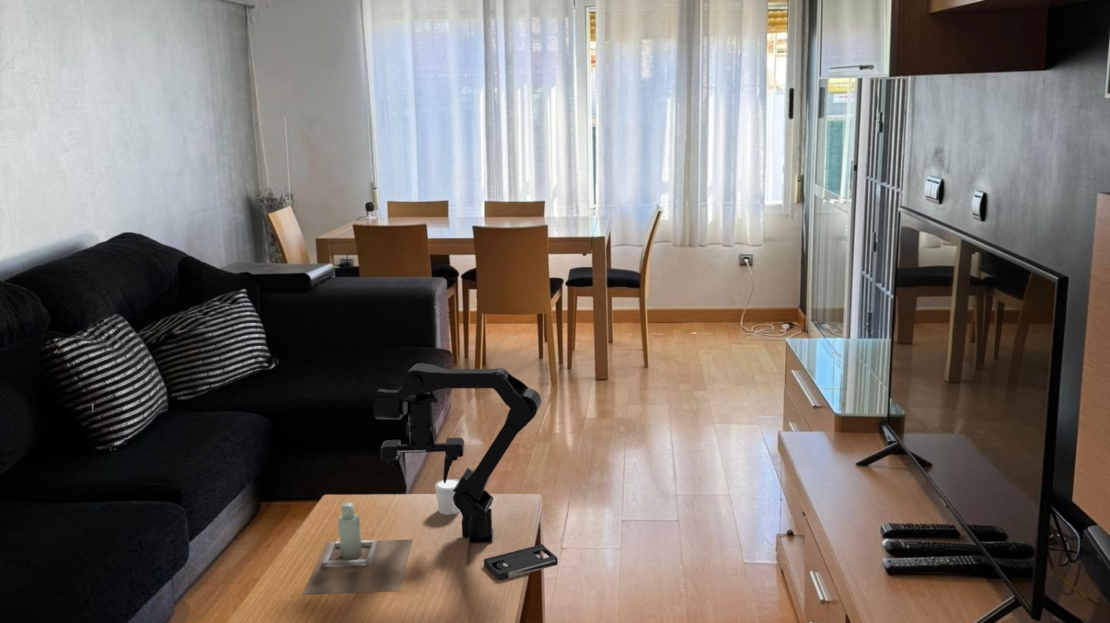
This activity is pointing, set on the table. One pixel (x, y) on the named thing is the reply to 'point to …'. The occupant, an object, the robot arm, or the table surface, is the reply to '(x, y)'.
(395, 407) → the robot arm
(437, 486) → the white cup
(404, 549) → the board
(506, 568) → the vhs tape
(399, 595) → the table surface
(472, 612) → the table surface
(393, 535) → the table surface
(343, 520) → the bottle
